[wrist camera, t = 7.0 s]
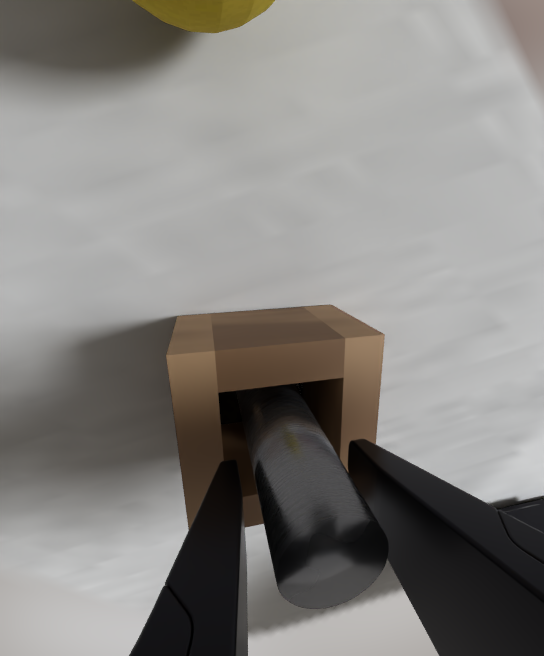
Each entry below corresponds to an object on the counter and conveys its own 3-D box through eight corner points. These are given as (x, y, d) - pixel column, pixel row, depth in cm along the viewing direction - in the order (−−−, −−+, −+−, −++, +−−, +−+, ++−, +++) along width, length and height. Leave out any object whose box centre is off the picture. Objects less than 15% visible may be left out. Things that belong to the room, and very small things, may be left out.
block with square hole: (327, 432, 15) (370, 501, 11) (193, 453, 14) (190, 538, 10) (331, 304, 13) (384, 334, 9) (177, 316, 12) (166, 355, 8)
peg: (286, 398, 14) (383, 592, 6) (235, 404, 14) (277, 621, 6) (285, 351, 13) (393, 506, 6) (232, 356, 13) (274, 531, 5)
